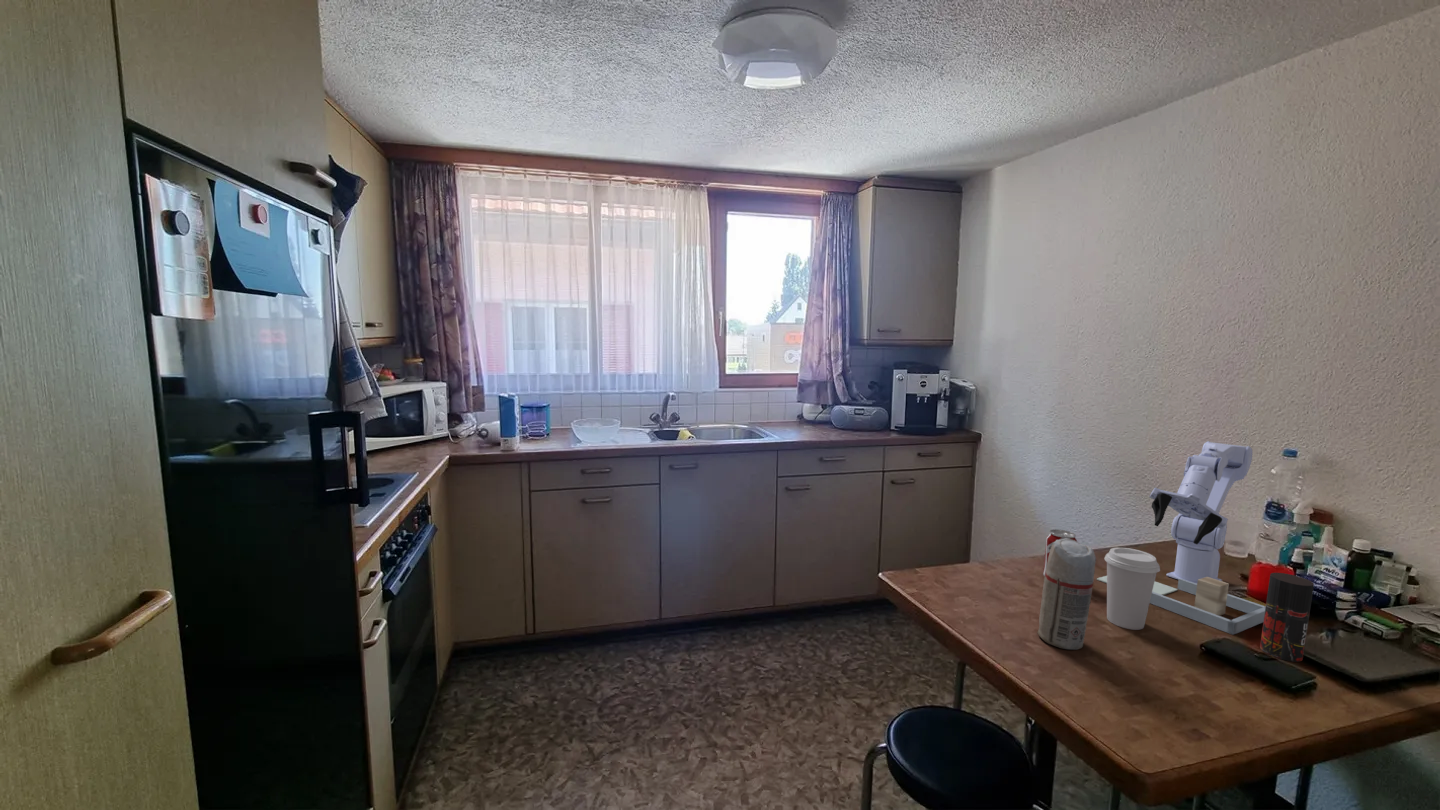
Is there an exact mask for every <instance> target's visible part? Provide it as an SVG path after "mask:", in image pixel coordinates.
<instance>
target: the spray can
mask: <svg viewBox="0 0 1440 810" xmlns="http://www.w3.org/2000/svg"><path fill="white" fill-rule="evenodd" d="M1096 562H1097V557H1096V554H1095V552H1094V549H1093V548H1092V547H1091V546H1090V545H1087V544H1082V543H1080V542H1078V540H1077V541H1075V540H1072V539H1067V538H1065V539H1061V540H1056V541H1055V542H1054V543H1053V544H1052V547H1051V550H1050V553H1049V557H1048V562H1047V568H1046V573H1045V576H1044V578H1043V586H1042V592H1041V593H1042V594H1041V603H1040V609H1039V618H1038V625H1039V626H1038V630H1037V632H1036V633H1037V635H1038V636H1039V637H1040V639H1042V640H1043V641H1044V643H1047V644H1048V645H1052V646H1054V647H1057V648H1059V649H1063V650H1081V649H1082V648H1083V647H1084V641H1085V636H1086V630H1087V622H1088V617H1089V611H1090V605H1091V598H1092V593H1093V586H1094V579H1095V578H1094V577H1095V569H1096V568H1095V567H1096Z"/></svg>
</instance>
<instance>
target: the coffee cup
mask: <svg viewBox="0 0 1440 810" xmlns="http://www.w3.org/2000/svg"><path fill="white" fill-rule="evenodd" d="M1104 561H1105V562H1106V576H1107V583H1106V619H1107V620H1108V622H1110V623H1111V624H1113V625H1115V626H1117V627H1120V628H1123V629H1126V630H1127V629H1128V630H1133V631H1139V630H1143V629H1144V628H1145V623H1146V620H1147V615H1148V611H1149V608H1150V607H1149V606H1150V604H1151V603H1150V599H1151V594H1152V590H1153V586H1154V582H1155V581H1156V577H1157V573H1159V572H1160V571H1161V567H1160V564H1159V563H1158V562H1157V558H1156V557H1155V555H1153V554H1151V553H1149V552H1146V551H1143V550H1139V549H1134V548H1129V547H1112V548H1110V549H1109V552H1107V553H1106V554H1105V555H1104Z"/></svg>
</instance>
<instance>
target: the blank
mask: <svg viewBox="0 0 1440 810" xmlns="http://www.w3.org/2000/svg"><path fill="white" fill-rule="evenodd" d="M1229 586H1230V584H1229V583H1228V582H1225V581H1223V580H1222V581H1219V580H1216V579H1213V578H1210V577H1205V578H1201V579H1198V582H1197V590H1196V595H1195V598H1194V599H1195V600H1194V605H1193V607H1196V608H1199V609H1202V610H1204V611H1207V612H1210V613H1213V614H1215V615H1218V616H1221V617H1222V615H1225V614H1226V607H1227V606H1226V602H1227V594H1229Z"/></svg>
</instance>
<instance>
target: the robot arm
mask: <svg viewBox="0 0 1440 810" xmlns="http://www.w3.org/2000/svg"><path fill="white" fill-rule="evenodd" d="M1252 460H1253V448H1251V446H1250V445H1247V446H1246V445H1245V446H1244V445H1236V444H1229V443H1228V444H1227V443H1221V442H1212V441H1206V442H1204V443H1203V445H1202V448H1201V452H1200V453H1199V454H1193V455H1192V456H1188V457H1187V460H1186V462H1185V468H1184V470H1183V478H1182V480H1181V483H1180V485H1179V487H1178V490H1177V492H1172V491H1169V490H1164V489H1160V488H1157V487H1154V488H1153V489H1152V491H1151V493H1150V495H1149V498H1150V499H1152V500H1153V501H1152V503H1151V508H1152V511H1153V513H1154V526H1156V527H1159V525H1160V524H1161V523H1162V521H1163V519H1164V517H1165V514H1166V511H1167V509H1168V507H1170V508H1171V509H1173V510H1174V511H1176V512H1177V513H1178V514H1177V515H1176V516H1175V517H1173V520H1172V523H1171V529H1170V535H1171V537H1172V538H1173V540H1175V543H1176V544H1177V549H1176V557H1175V565H1174V570H1173V571H1171V572H1167V573H1166V577H1170V578H1172V579H1176V580H1179V579H1180V578H1181V579H1184V580H1187V581H1190V582H1193V583H1197V582H1198V579H1201V578H1205V577H1210V578H1213V579H1216V580H1219V581H1222V582H1223V579H1221V578H1219V577H1218V576H1219V567H1220V560H1221V554H1220V551H1219V550H1220V549H1221V548H1223V547H1224V544H1225V541H1226V534H1227V528H1228V524H1227V523H1228V520H1229V519H1228V518H1227V517H1225V516H1224V515H1221V514H1220V512H1221V510H1222V507H1223V505H1224V502H1225V501H1226V498H1227V497H1228V493H1229V491H1230V489H1231V488H1232V487H1233V485H1234V483H1235V482H1237V481H1241V480H1244V479H1245V477H1246V476H1247V474H1248V472H1249V470H1250V468H1251V465H1252Z"/></svg>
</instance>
